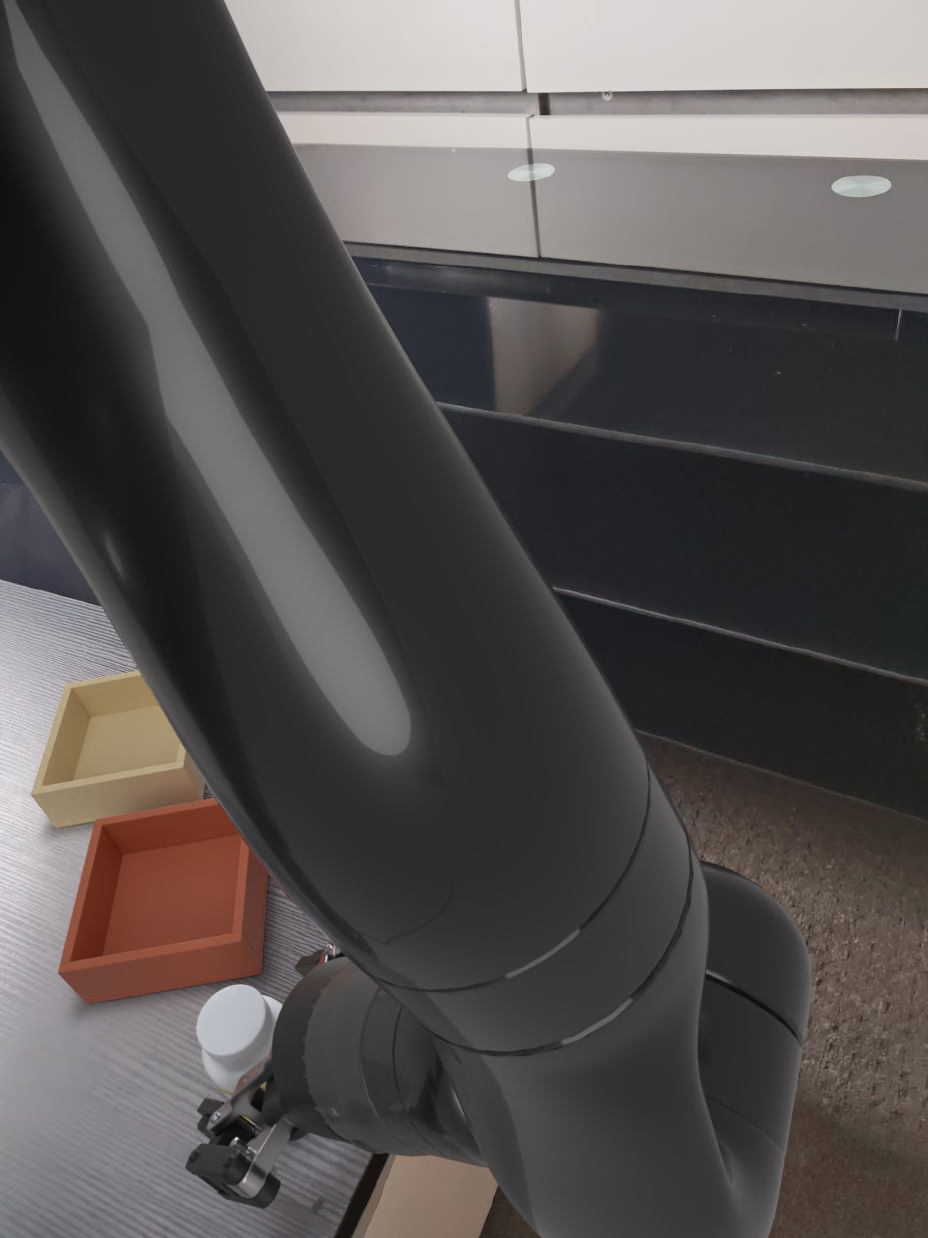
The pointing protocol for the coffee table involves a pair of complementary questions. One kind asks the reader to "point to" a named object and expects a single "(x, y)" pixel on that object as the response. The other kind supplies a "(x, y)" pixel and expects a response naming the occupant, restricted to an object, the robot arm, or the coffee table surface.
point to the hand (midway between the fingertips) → (264, 1042)
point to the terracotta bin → (165, 905)
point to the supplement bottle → (235, 1034)
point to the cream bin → (112, 754)
